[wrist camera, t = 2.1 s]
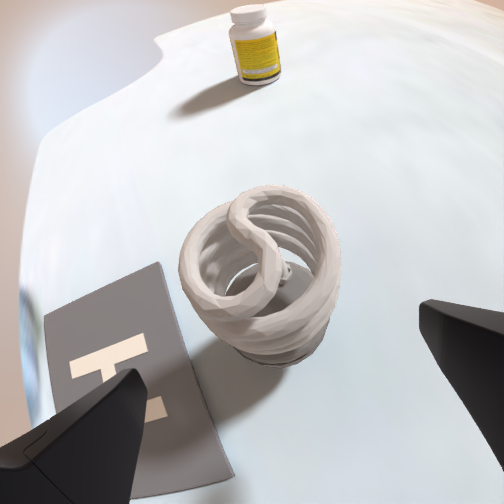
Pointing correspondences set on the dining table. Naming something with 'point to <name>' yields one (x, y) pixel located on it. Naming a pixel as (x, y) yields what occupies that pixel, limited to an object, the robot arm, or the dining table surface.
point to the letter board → (150, 369)
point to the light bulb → (264, 274)
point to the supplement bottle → (254, 45)
